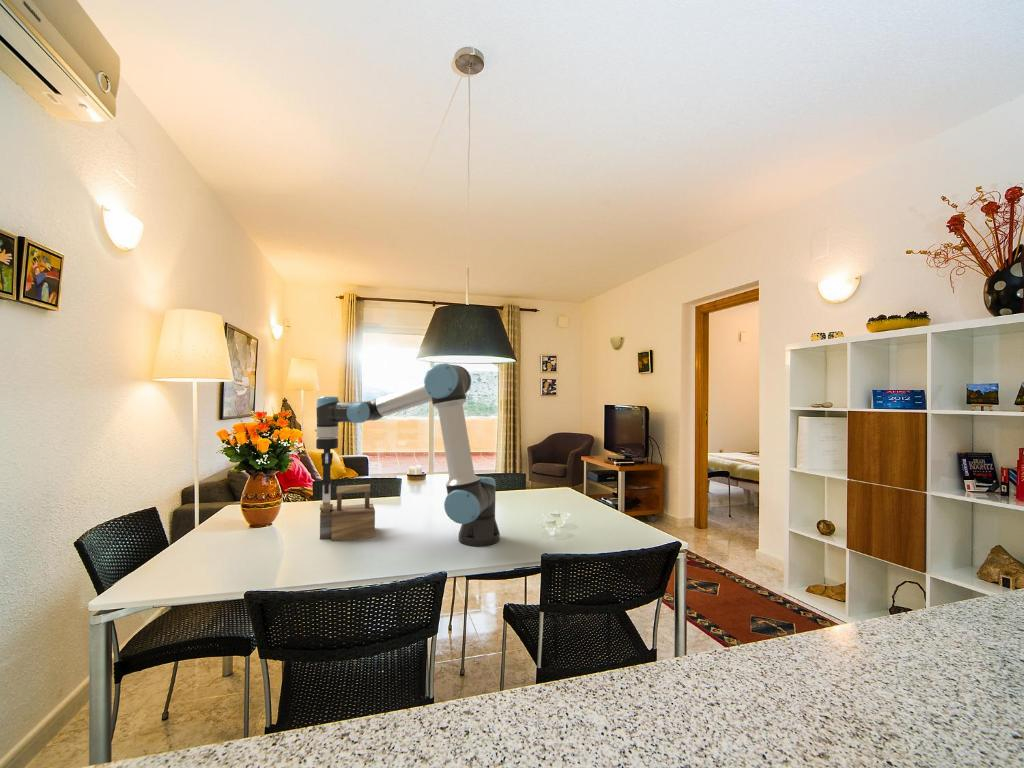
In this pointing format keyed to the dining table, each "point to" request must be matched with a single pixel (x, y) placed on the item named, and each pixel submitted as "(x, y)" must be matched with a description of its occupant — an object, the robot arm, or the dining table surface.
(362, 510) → the lid
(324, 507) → the key peg
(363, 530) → the toolbox
